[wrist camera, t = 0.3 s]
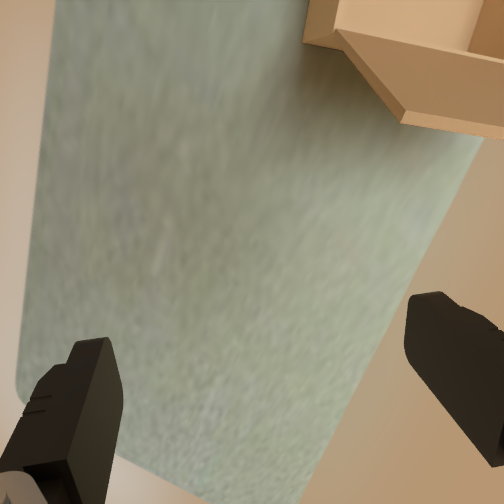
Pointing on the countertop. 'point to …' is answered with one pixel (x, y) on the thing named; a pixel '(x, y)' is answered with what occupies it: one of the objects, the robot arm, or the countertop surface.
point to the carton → (413, 24)
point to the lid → (430, 84)
